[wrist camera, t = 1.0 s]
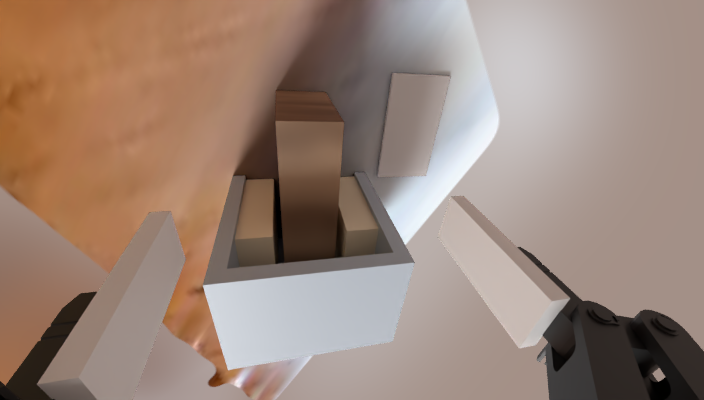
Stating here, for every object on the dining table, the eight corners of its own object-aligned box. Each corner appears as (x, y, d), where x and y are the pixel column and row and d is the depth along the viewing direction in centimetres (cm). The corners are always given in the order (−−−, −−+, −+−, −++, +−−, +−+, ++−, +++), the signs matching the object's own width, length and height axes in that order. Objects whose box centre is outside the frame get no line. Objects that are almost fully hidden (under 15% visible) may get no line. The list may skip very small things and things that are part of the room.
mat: (392, 72, 27) (393, 73, 26) (448, 75, 28) (450, 76, 28) (376, 175, 32) (377, 177, 32) (424, 174, 34) (425, 175, 33)
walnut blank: (275, 89, 25) (275, 120, 18) (325, 91, 26) (344, 122, 19) (283, 215, 33) (285, 273, 25) (321, 213, 34) (334, 268, 27)
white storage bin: (232, 175, 29) (202, 285, 17) (364, 172, 32) (414, 262, 20) (244, 248, 34) (228, 369, 22) (356, 239, 37) (392, 341, 26)
